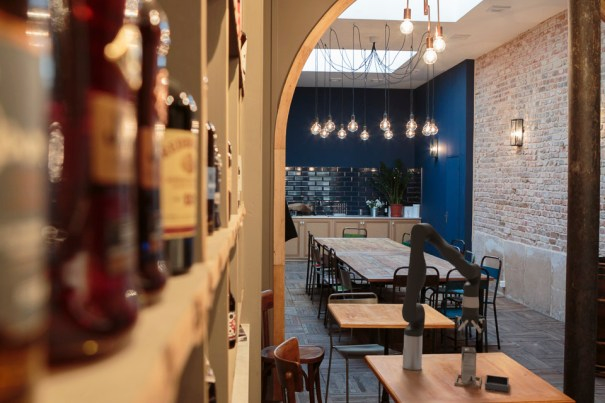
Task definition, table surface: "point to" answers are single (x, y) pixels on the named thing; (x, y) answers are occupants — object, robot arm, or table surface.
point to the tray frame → (468, 384)
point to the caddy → (497, 383)
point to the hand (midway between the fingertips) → (469, 339)
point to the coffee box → (468, 365)
